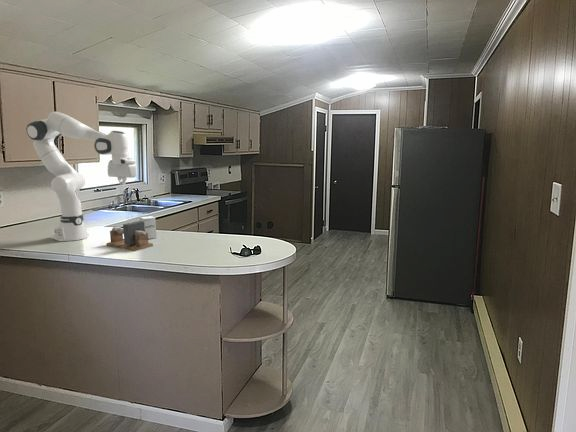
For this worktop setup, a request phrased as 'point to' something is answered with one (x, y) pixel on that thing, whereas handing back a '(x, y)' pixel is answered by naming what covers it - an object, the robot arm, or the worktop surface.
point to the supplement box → (149, 226)
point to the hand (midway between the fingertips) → (122, 185)
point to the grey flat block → (132, 231)
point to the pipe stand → (118, 240)
